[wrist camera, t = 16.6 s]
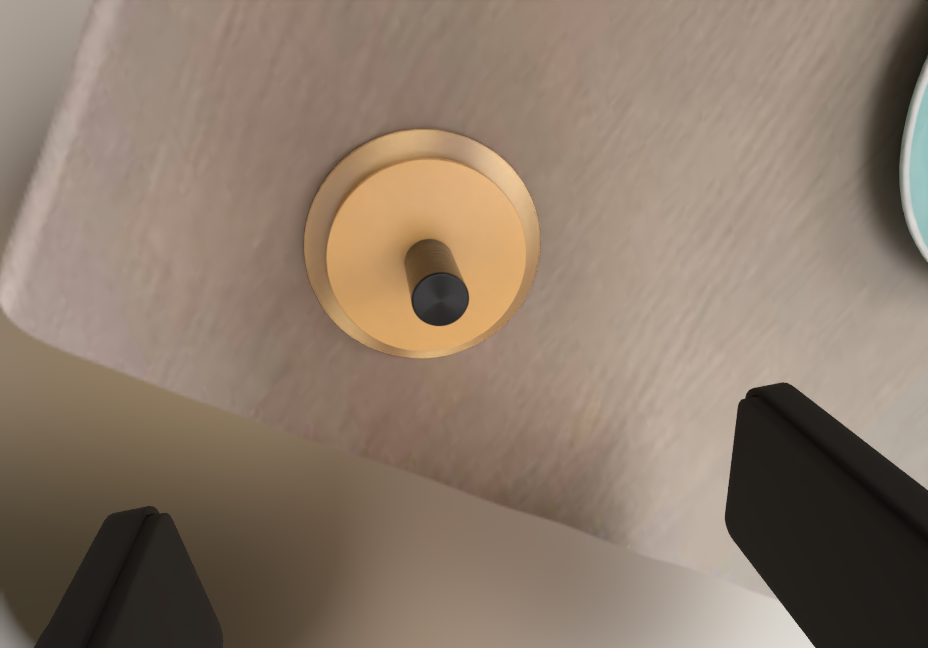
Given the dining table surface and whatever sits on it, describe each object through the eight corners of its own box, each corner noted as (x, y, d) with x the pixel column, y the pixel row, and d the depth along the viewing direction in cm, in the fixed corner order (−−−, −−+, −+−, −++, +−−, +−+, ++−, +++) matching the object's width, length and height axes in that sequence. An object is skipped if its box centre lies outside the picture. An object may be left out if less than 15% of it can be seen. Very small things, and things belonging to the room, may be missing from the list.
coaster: (291, 337, 31) (290, 342, 30) (321, 101, 26) (321, 102, 26) (505, 367, 33) (507, 371, 33) (566, 158, 29) (569, 159, 28)
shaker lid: (315, 327, 30) (303, 388, 24) (343, 134, 26) (337, 154, 21) (494, 353, 32) (521, 414, 27) (543, 178, 29) (586, 207, 23)
